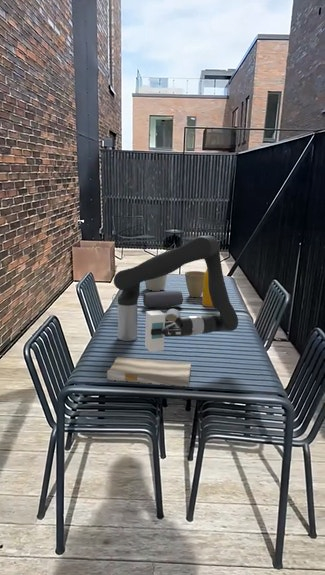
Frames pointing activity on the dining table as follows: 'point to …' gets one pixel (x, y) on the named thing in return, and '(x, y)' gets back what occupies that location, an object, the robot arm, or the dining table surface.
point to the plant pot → (194, 283)
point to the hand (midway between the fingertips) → (148, 329)
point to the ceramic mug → (172, 315)
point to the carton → (154, 322)
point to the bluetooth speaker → (162, 299)
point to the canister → (156, 283)
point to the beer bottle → (206, 292)
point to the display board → (150, 371)
